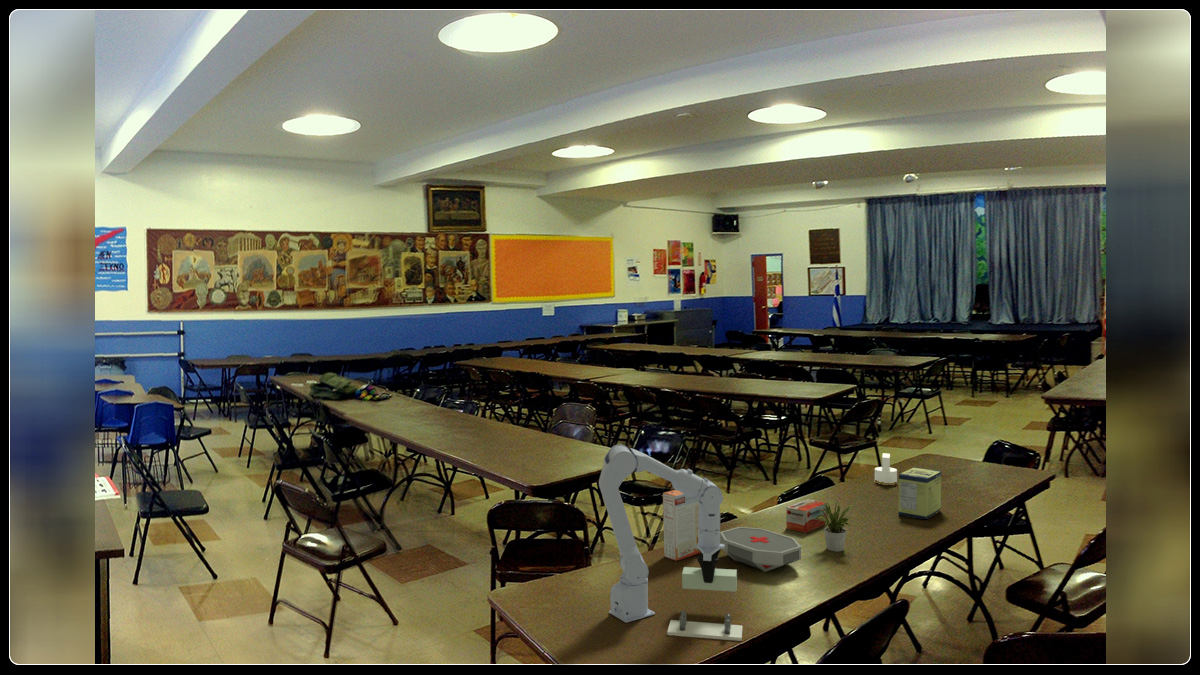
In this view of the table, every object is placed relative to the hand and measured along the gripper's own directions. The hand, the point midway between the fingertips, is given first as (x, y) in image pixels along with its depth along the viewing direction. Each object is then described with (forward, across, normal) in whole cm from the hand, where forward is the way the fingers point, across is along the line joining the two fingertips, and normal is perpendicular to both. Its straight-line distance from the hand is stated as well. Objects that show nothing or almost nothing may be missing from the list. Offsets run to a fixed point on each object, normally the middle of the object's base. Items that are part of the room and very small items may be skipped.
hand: (709, 578), depth 210 cm
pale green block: (+2, 0, 0) cm, 2 cm away
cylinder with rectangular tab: (+8, +147, -65) cm, 161 cm away
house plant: (+8, +55, -35) cm, 66 cm away
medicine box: (+9, +79, -29) cm, 84 cm away
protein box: (+8, +102, -71) cm, 124 cm away
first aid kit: (+8, +38, -13) cm, 41 cm away
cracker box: (+8, +42, +11) cm, 44 cm away
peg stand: (+8, -14, 0) cm, 16 cm away
